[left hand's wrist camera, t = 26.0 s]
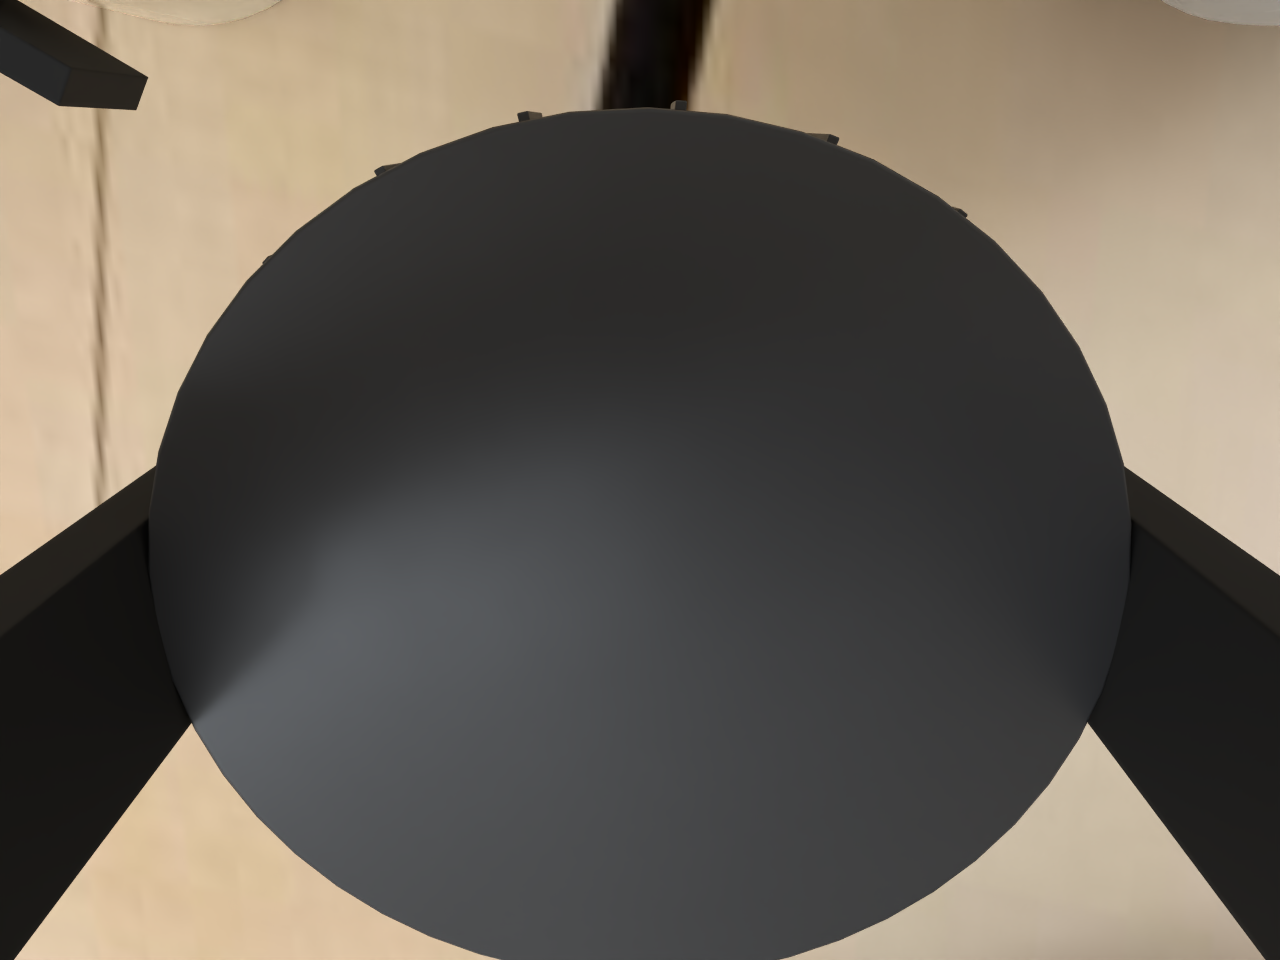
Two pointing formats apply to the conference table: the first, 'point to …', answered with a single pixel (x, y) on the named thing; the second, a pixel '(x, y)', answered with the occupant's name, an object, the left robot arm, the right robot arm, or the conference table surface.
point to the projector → (1232, 10)
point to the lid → (639, 540)
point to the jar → (185, 9)
